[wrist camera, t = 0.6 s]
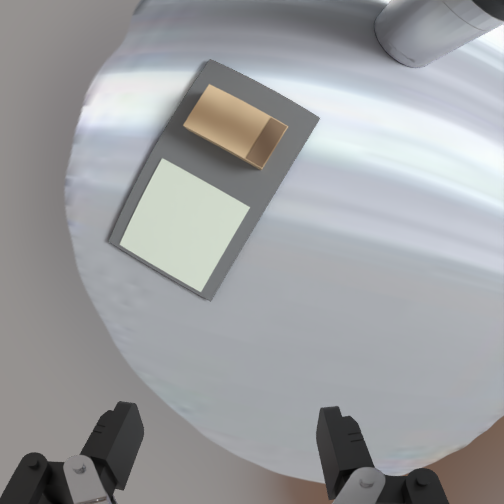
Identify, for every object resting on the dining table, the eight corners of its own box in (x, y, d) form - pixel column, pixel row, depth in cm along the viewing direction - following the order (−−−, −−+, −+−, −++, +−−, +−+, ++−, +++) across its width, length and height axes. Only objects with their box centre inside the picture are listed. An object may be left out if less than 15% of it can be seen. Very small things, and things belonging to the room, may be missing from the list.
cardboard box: (212, 92, 30) (209, 83, 27) (284, 131, 31) (288, 126, 28) (188, 130, 31) (182, 125, 28) (261, 170, 32) (262, 168, 29)
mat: (210, 60, 29) (210, 58, 29) (319, 118, 31) (320, 117, 30) (110, 240, 34) (107, 242, 33) (211, 299, 35) (210, 302, 35)
